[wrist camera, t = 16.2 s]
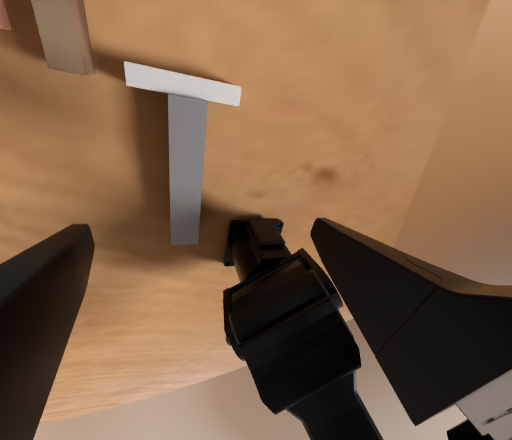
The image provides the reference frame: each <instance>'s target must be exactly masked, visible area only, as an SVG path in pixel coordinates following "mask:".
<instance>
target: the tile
mask: <svg viewBox="0 0 512 440" xmlns="http://www.w3.org/2000/svg"><path fill="white" fill-rule="evenodd" d="M0 28H1V29H5V30H9V31H12V29H11V25H10V22H9V18H8V15H7V11H6V8H5V4H4V1H3V0H0Z"/></svg>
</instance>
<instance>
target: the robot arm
mask: <svg viewBox="0 0 512 440" xmlns="http://www.w3.org/2000/svg"><path fill="white" fill-rule="evenodd" d="M234 224H235V226H232V225H234ZM278 224H279V225H278ZM282 228H283V222H282V221H281V220H270V219H259V220H233V221H231V222H230V223H229V227H228V233H227V240H226V246H225V253H224V259H223V264H224V266H235V268H236V271H237V274H238V277H239V280H240V283H239V284H237V285H235V286H233V287H231V288H227V289H225V290H224V291H223V297H224V298H223V309H224V330H225V333H226V341H227V344H228V345H230V346H232V348H233V350H234V351H235V353H236V355H237V356H238V357H239V358H240V359H241V360H242V361H246V363H247V365H248V367H249V369H250V372H251V374H252V376H253V379H254V381H255V384H256V387H257V389H258V392H259V395H260V398H261V400H262V402H263V403H264V404H265V405H266V406H267V407H268V408H269V409H270V410H271V411H272V412H273V413H274V414H278V413H280V412H282V411H283V410H287V411H288V412H290V413H291V414H292V415H294V416H295V417H296V418H298V419H299V420H300V421H301V422H302V423H303V425H304V427H305V429H306V431H307V433H308V435H309V437H310V440H383V438H382V436H381V434H380V433H379V431H378V429H377V427H376V425H375V424H374V422H373V420H372V418H371V416H370V415H369V413H368V411H367V409H366V407H365V406H364V404H363V402H362V400H361V398H360V397H359V395H358V393H357V390H356V370H357V369H359V368H361V359H360V352H359V348H358V346H357V344H356V342H355V341H354V337H353V335H352V333H351V331H350V330H349V328H348V326H347V324H346V322H345V321H344V319H343V317H342V315H341V314H340V312H339V310H338V309H339V308H341V307H343V303H342V300H341V298H340V296H339V294H338V292H337V290H338V291H339V293H340V295H341V297H342V298H343V300H344V302H345V304H346V306H347V307H348V309H349V311H350V313H351V314H352V316H353V318H354V320H355V321H356V323H357V325H358V327H359V328H360V330H361V332H362V334H363V336H364V337H365V339H366V341H367V343H368V345H369V346H370V348H371V350H372V351H373V353H374V354H375V357H376V359H377V361H378V363H379V364H380V366H381V368H382V370H383V371H384V373H385V375H386V377H387V378H388V380H389V382H390V384H391V385H392V387H393V389H394V391H395V393H396V395H397V396H398V398H399V400H400V402H401V403H402V405H403V407H404V408H405V411H406V412H407V414H408V416H409V418H410V419H411V421H412V422H413V424H414V425H415V426H417V425H419V424H421V423H423V422H424V421H426V420H428V419H430V418H432V417H434V416H435V415H437V414H439V413H441V412H443V411H445V410H446V409H448V408H450V407H452V406H454V405H456V406H457V407H458V408H459V409H460V410H461V411H462V413H463V414H464V415H465V416H466V417H467V419H466V420H465V421H463V422H461V423H460V424H458V425H456V426H455V427H453V428H452V429H450V430H448V431H447V436H448V440H512V285H510V286H509V285H507V286H506V285H490V284H483V283H480V282H476V281H473V280H470V279H467V278H465V277H462V276H460V275H457V274H455V273H452V272H450V271H447V270H445V269H442V268H440V267H437V266H435V265H432V264H430V263H427V262H425V261H422V260H420V259H418V258H416V257H413V256H411V255H409V254H406V253H404V252H402V251H399V250H397V249H395V248H393V247H390V246H388V245H386V244H384V243H381V242H379V241H377V240H375V239H372V238H370V237H368V236H365V235H363V234H361V233H359V232H356V231H354V230H352V229H350V228H347V227H345V226H343V225H340V224H338V223H336V222H334V221H331V220H329V219H327V218H317V219H316V220H315V222H314V225H313V227H312V230H311V238H312V240H313V243H314V245H315V247H316V249H317V252H318V254H319V256H320V258H321V261H322V263H323V265H324V266H325V268H326V270H327V272H328V274H329V275H330V277H331V279H332V281H333V282H334V284H335V286H336V288H337V290H336V288H335V287H334V285H333V283H332V282H331V280H330V279H329V277H328V276H327V275H326V273H325V272H324V271H323V270H322V268H321V267H320V266H319V265H318V264H317V263H316V262H315V261H314V260H313V259H312V258H311V256H310V255H309V254H308V253H307V252H306V251H305V250H304V249H303V248H301V249H299V250H298V252H296V253H294V254H291V253H290V251H289V250H288V248H287V247H286V245H285V241H284V239H283V238H282V236H281V235H280V234H281V231H282ZM94 248H95V247H94V241H93V237H92V233H91V230H90V227H89V225H88V224H72V225H70V226H68V227H66V228H64V229H63V230H61V231H59V232H57V233H55V234H54V235H52V236H50V237H48V238H46V239H45V240H43V241H41V242H39V243H38V244H36V245H34V246H32V247H30V248H29V249H27V250H25V251H23V252H21V253H20V254H18V255H16V256H14V257H12V258H11V259H9V260H7V261H5V262H3V263H2V264H0V440H33V438H34V436H35V433H36V430H37V427H38V424H39V422H40V419H41V416H42V413H43V410H44V408H45V405H46V402H47V399H48V396H49V393H50V391H51V388H52V385H53V382H54V379H55V377H56V374H57V371H58V368H59V365H60V363H61V360H62V357H63V354H64V351H65V348H66V346H67V343H68V340H69V337H70V334H71V332H72V329H73V326H74V323H75V320H76V317H77V315H78V312H79V309H80V306H81V303H82V301H83V298H84V295H85V292H86V288H87V284H88V279H89V274H90V269H91V264H92V259H93V254H94ZM227 262H228V263H227Z"/></svg>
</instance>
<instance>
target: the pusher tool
mask: <svg viewBox="0 0 512 440" xmlns="http://www.w3.org/2000/svg"><path fill="white" fill-rule="evenodd" d="M124 68H125V78H126V86H131V87H136V88H142V89H147V90H153V91H158V92H164V93H168V122H169V175H170V228H171V246H172V245H190V244H198V240H199V225H200V210H201V194H202V179H203V164H204V149H205V133H206V118H207V103H208V101H213V102H218V103H224V104H229V105H234V106H239V103H240V95H241V88H242V87H240V86H237V85H233V84H228V83H224V82H219V81H215V80H210V79H206V78H201V77H196V76H192V75H187V74H183V73H178V72H174V71H169V70H165V69H160V68H155V67H151V66H146V65H142V64H137V63H133V62H126V61H124Z"/></svg>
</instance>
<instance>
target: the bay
mask: <svg viewBox="0 0 512 440" xmlns="http://www.w3.org/2000/svg"><path fill="white" fill-rule="evenodd" d="M31 2H32V6H33V10H34V14H35V18H36V22H37V26H38V30H39V34H40V38H41V42H42V46H43V50H44V54H45V58H46V62H47V66H48V69H54V70H59V71H64V72H69V73H75V74H80V75H89V74H95V69H94V63H93V57H92V51H91V45H90V38H89V32H88V26H87V20H86V14H85V7H84V1H83V0H31Z"/></svg>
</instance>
